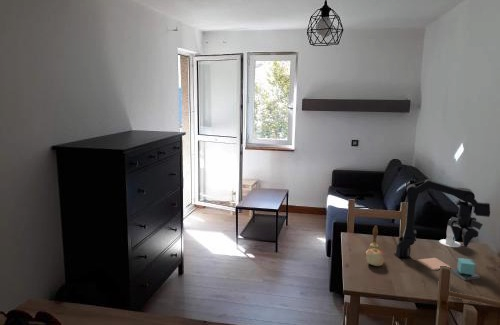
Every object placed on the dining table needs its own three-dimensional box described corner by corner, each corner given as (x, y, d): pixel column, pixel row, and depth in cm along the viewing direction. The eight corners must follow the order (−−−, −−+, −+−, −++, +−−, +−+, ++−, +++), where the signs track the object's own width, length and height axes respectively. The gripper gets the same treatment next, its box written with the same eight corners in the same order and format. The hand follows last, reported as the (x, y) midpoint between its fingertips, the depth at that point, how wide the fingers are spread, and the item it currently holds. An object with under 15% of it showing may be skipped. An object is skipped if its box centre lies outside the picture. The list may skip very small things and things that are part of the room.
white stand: (458, 249, 219) (462, 224, 216) (437, 244, 225) (440, 219, 223) (462, 243, 228) (465, 219, 225) (441, 238, 235) (444, 214, 232)
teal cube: (473, 274, 184) (475, 264, 183) (460, 273, 185) (461, 263, 184) (470, 269, 189) (471, 259, 188) (457, 267, 191) (458, 257, 190)
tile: (432, 270, 192) (432, 268, 191) (417, 260, 202) (417, 259, 202) (450, 268, 194) (450, 266, 194) (435, 259, 205) (435, 257, 205)
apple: (368, 259, 202) (370, 245, 200) (385, 264, 197) (387, 249, 195) (363, 265, 195) (364, 250, 193) (380, 270, 190) (382, 255, 188)
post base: (464, 280, 182) (466, 268, 181) (450, 271, 191) (451, 260, 190) (479, 278, 185) (481, 266, 184) (465, 269, 193) (466, 258, 192)
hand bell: (362, 252, 211) (364, 224, 208) (374, 250, 214) (376, 222, 211) (372, 258, 204) (375, 229, 201) (384, 256, 207) (387, 228, 204)
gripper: (491, 220, 183) (487, 251, 186) (471, 208, 201) (467, 237, 204) (468, 219, 183) (463, 250, 186) (450, 208, 202) (446, 236, 205)
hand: (460, 243), depth 195 cm, fingers open, 9 cm apart
